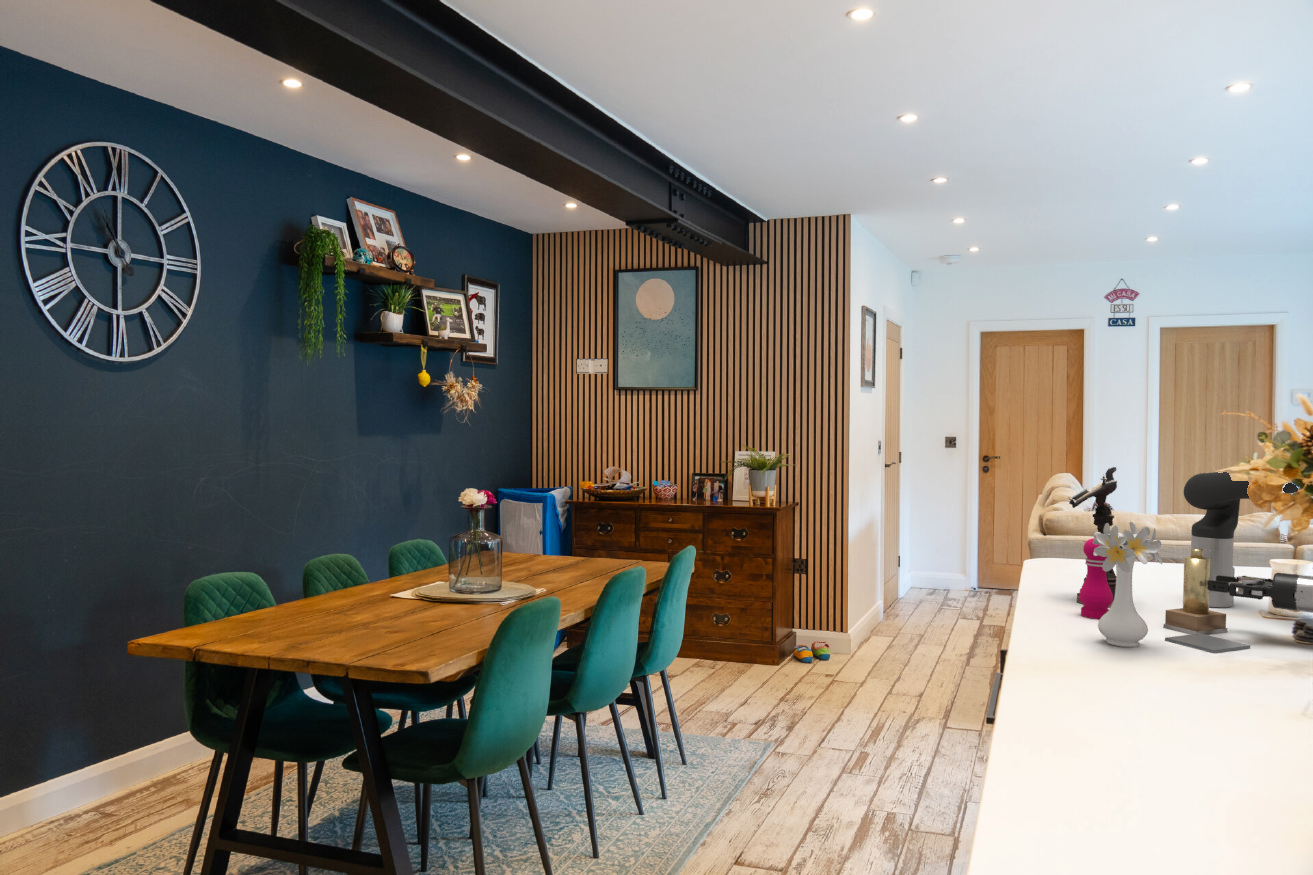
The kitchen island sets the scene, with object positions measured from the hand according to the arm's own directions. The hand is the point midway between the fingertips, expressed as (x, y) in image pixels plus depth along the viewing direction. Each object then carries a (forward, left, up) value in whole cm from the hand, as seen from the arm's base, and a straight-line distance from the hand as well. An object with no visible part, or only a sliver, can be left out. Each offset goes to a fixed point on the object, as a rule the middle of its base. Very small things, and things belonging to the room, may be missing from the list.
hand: (1212, 582), depth 207 cm
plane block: (+1, -3, -11) cm, 11 cm away
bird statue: (-1, -33, -11) cm, 35 cm away
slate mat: (+11, +7, -11) cm, 17 cm away
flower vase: (+28, +1, -11) cm, 30 cm away
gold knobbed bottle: (+1, -3, -7) cm, 7 cm away
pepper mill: (+11, -21, -11) cm, 26 cm away
